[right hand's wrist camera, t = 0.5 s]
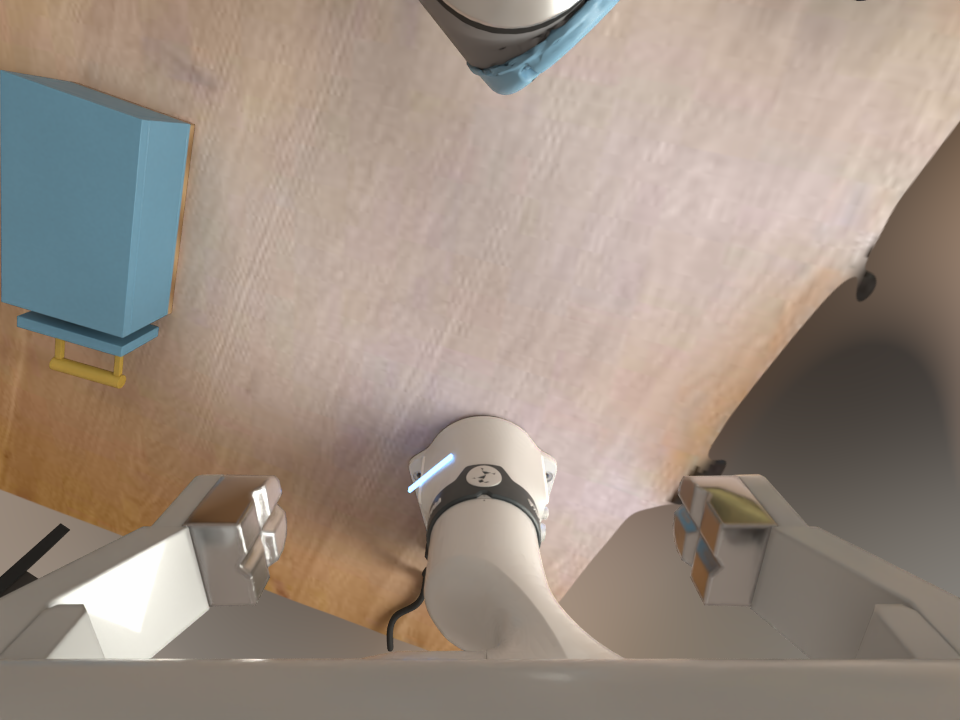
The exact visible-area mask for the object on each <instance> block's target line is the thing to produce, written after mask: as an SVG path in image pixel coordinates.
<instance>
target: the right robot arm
mask: <svg viewBox="0 0 960 720" xmlns="http://www.w3.org/2000/svg"><path fill="white" fill-rule="evenodd" d="M409 472H410V475H411V479H412V482H413V485H411V486H410V487H409V489H408V492H412V491H413V490H414V489H415V492H416V496H417V499H418V503H419V506H420V510H421V513H422V517H423V520H424V523H425V527H426V531H427V534H426V537H427V544H426V551H425V558H426V559H427V567H426V568H425V569H424V570H423V573H422V575H423V584H422V589H421V593H420V595H419V597H418V599H417V600H416V601H415V602H414V603H412V604H411V605H409V606H407V607H404V608H402V609H400V610H399V611H397V612H396V613H395V614H393V616H392V617H391V619H390V621H389V624H388V628H387V649H388V651H392V650H393V628H394V624H395V622H396V620H397V619H398V618H399V617H401V616H402V615H404V614H407V613H409V612H411V611H413V610H415V609H416V608H418V607H419V606H420V605H421V604H422V602H423V601H424V599H425V604H426V608H427V611H428V613H429V615H430V617H431V619H432V620H433V622H434V623H435V625H436V626H437V628H438V629H439V631H440V632H441V633H442V634H443V636H444V637H445V638H446V639H447V640H448V641H450V642H451V643H452V644H454V645H455V646H457V647H458V648H460V649H462V650H464V651H395V652H390V653H385V654H380V655H375V656H370V657H365V658H362V659H150V658H152V657H153V656H154V655H155V654H156V653H157V652H159V651H160V650H161V649H162V648H163V647H165V646H166V645H167V644H168V643H169V642H171V641H172V640H173V639H174V638H175V637H177V636H178V635H179V634H180V633H181V632H183V631H184V630H185V629H186V628H187V627H188V626H190V625H191V624H192V623H193V622H194V621H196V620H197V619H198V618H199V617H200V616H202V615H203V614H204V613H205V612H206V611H208V610H209V606H242V605H256V604H257V602H258V600H259V598H260V596H261V594H262V592H263V590H264V588H265V586H266V584H267V582H268V580H269V578H270V576H269V571H268V567H269V566H270V565H272V564H273V563H275V562H276V561H278V560H279V558H280V555H281V553H282V551H283V549H284V545H285V540H286V536H287V519H286V513H285V511H284V510H283V509H282V508H281V507H280V506H279V505H278V504H277V502H278V500H279V498H280V497H281V495H282V490H281V486H280V481H279V479H278V478H277V477H276V476H266V475H200V476H196V477H195V478H194V479H193V480H192V481H191V482H190V483H189V485H188V486H187V487H186V488H185V489H184V490H183V491H182V492H181V494H180V495H179V496H178V497H177V498H176V499H175V500H174V501H173V503H172V504H171V505H170V506H169V507H168V508H167V509H166V510H165V512H164V513H163V514H162V515H161V516H160V517H159V518H158V519H157V521H156V522H155V523H154V524H153V525H152V526H151V527H141V528H139V529H137V530H135V531H133V532H131V533H129V534H127V535H125V536H123V537H121V538H119V539H117V540H115V541H113V542H111V543H109V544H107V545H105V546H103V547H101V548H99V549H97V550H95V551H93V552H91V553H89V554H87V555H85V556H83V557H81V558H79V559H77V560H75V561H73V562H71V563H69V564H67V565H65V566H63V567H61V568H59V569H57V570H55V571H53V572H51V573H49V574H47V575H45V576H43V577H41V578H39V579H37V580H35V581H33V582H31V583H29V584H27V585H25V586H23V587H21V588H19V589H17V590H15V591H13V592H11V593H9V594H7V595H5V596H3V597H1V598H0V720H960V598H959V597H957V596H955V595H953V594H951V593H949V592H947V591H945V590H943V589H941V588H939V587H937V586H935V585H933V584H931V583H929V582H927V581H925V580H923V579H921V578H919V577H917V576H915V575H913V574H911V573H909V572H907V571H905V570H903V569H901V568H899V567H897V566H895V565H893V564H891V563H889V562H887V561H885V560H883V559H881V558H879V557H877V556H875V555H873V554H871V553H869V552H867V551H865V550H863V549H861V548H859V547H857V546H855V545H853V544H851V543H849V542H847V541H845V540H843V539H841V538H839V537H837V536H835V535H833V534H831V533H829V532H827V531H825V530H823V529H821V528H819V527H809V526H808V525H807V524H806V523H805V522H804V521H803V519H802V518H801V517H800V516H799V515H798V514H797V513H796V512H795V510H794V509H793V508H792V507H791V506H790V505H789V504H788V503H787V501H786V500H785V499H784V498H783V497H782V496H781V495H780V494H779V493H778V491H777V490H776V489H775V488H774V487H773V486H772V485H771V484H770V482H769V481H768V480H767V479H766V478H765V477H763V476H761V475H759V474H750V475H733V476H683V478H682V480H681V482H680V485H679V490H678V495H679V497H680V498H681V500H682V502H683V504H682V505H681V506H680V507H679V508H678V509H677V510H676V511H675V513H674V521H673V534H674V542H675V545H676V549H677V551H678V553H679V556H680V558H681V560H682V561H684V562H685V563H687V564H688V565H690V566H691V567H692V571H691V576H690V578H691V580H692V582H693V584H694V586H695V588H696V590H697V592H698V594H699V596H700V598H701V600H702V602H703V604H704V605H717V606H751V610H753V611H754V612H755V613H756V614H757V615H759V616H760V617H761V618H762V619H763V620H765V621H766V622H767V623H768V624H769V625H771V626H772V627H773V628H774V629H775V630H776V631H778V632H779V633H780V634H781V635H782V636H784V637H785V638H786V639H787V640H788V641H790V642H791V643H792V644H793V645H794V646H796V647H797V648H798V649H799V650H800V651H801V652H803V653H804V654H805V655H806V656H807V657H809V658H810V659H626V658H624V657H622V656H620V655H618V654H616V653H615V652H613V651H611V650H610V649H608V648H606V647H605V646H603V645H602V644H600V643H599V642H598V641H596V640H595V639H594V638H592V637H591V636H590V635H589V634H587V633H586V632H585V631H584V630H583V629H582V628H581V627H580V626H578V625H577V624H576V623H575V622H574V621H573V620H572V619H571V617H570V616H569V615H568V614H567V613H566V612H565V611H564V610H563V608H562V607H561V606H560V605H559V603H558V602H557V600H556V599H555V597H554V596H553V594H552V592H551V590H550V588H549V586H548V583H547V580H546V576H545V573H544V569H543V565H542V561H541V556H540V551H539V549H540V544H541V542H543V541H544V539H545V534H546V526H545V524H544V523H541V521H542V519H547V518H548V508H546V505H547V504H548V502H549V495H550V492H551V488H552V485H553V482H554V479H555V475H556V472H557V462H556V460H555V459H554V458H553V457H551V456H550V455H548V454H547V453H545V452H543V451H541V450H540V449H539V448H538V447H537V446H536V445H535V443H534V442H533V440H532V439H531V438H530V436H529V435H528V434H527V433H526V432H525V431H524V430H523V429H521V428H520V427H519V426H517V425H515V424H514V423H512V422H509V421H507V420H504V419H501V418H497V417H492V416H475V417H469V418H465V419H462V420H459V421H457V422H455V423H453V424H451V425H449V426H448V427H446V428H445V429H444V430H443V431H441V432H440V433H439V434H438V435H437V437H436V438H435V439H434V441H433V442H432V443H431V445H430V446H429V447H428V448H427V449H426V450H424V451H422V452H421V453H419V454H417V455H416V456H414V457H413V458H412V459H411V460H410V462H409ZM418 473H421V475H419V474H418ZM546 473H548V475H546Z"/></svg>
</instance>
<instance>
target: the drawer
mask: <svg viewBox="0 0 960 720" xmlns="http://www.w3.org/2000/svg"><path fill="white" fill-rule="evenodd" d="M17 327H20V328H24V329H27V330H30V331H34V332H37V333H41V334H44V335H47V336H51V337H54V338H55V357H54V358H52V360H51V361H50V364H49V367H50V369H52V370H56V371H59V372H63V373H66V374H70V375H73V376H77V377H80V378H84V379H87V380H91V381H94V382H98V383H101V384H105V385H108V386H111V387H115V388H122V387H123V385H124V384H125V381H126V376H124V375H122V368H123V357H124V355H126V354H127V353H129V352H131V351H133V350H134V349H136V348H138V347H140V346H141V345H143V344H145V343H147V342H148V341H150V340H152V339H154V338H155V337H157V336H158V330H159V327H157V326H154V325H151V324H148V325H146V326H145V327H143V328H141V329H139V330H137V331H135V332H133V333H131V334H129V335H127V336H125V337H124V338H121V337H118V336H115V335H111V334H108V333H105V332H101V331H98V330H95V329H91V328H88V327H84V326H81V325H78V324H74V323H71V322H68V321H64V320H61V319H58V318H54V317H51V316H48V315H44V314H41V313H38V312H34V311H30V312H27V313H24V314H22V315H19V316H17ZM65 341H68V342H71V343H75V344H78V345H82V346H85V347H88V348H92V349H95V350H99V351H102V352H105V353H109V354H112V355H115V362H114V372H111V371H107V370H104V369H100V368H97V367H93V366H90V365H86V364H83V363H80V362H76V361H73V360H69V359H66V358H64V349H65Z"/></svg>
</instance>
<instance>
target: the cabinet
mask: <svg viewBox="0 0 960 720" xmlns="http://www.w3.org/2000/svg"><path fill="white" fill-rule="evenodd" d="M194 127H195V124H192V123H189V122H186V121H184V120H181V119H178V118H175V117H172V116H169V115H167V114H164V113H161V112H158V111H155V110H152V109H150V108H147V107H144V106H141V105H138V104H136V103H133V102H130V101H127V100H124V99H121V98H119V97H116V96H113V95H110V94H107V93H104V92H102V91H99V90H96V89H93V88H90V87H87V86H85V85H82V84H79V83H76V82H69V81H63V80H57V79H51V78H45V77H39V76H33V75H28V74H22V73H16V72H10V71H4V70H0V128H1V301H2V302H4V303H7V304H11V305H14V306H17V307H21V308H24V309H27V310H31V311H34V312H38V313H41V314H44V315H48V316H51V317H54V318H58V319H61V320H64V321H68V322H71V323H74V324H78V325H81V326H84V327H88V328H91V329H95V330H98V331H101V332H105V333H108V334H111V335H115V336H118V337H121V338H124V337H125V336H127V335H129V334H131V333H133V332H135V331H137V330H139V329H141V328H143V327H145V326H146V325H148V324H150V323H152V322H154V321H156V320H158V319H160V318H162V317H164V316H166V315H168V314H170V313H171V312H172V304H173V296H174V288H175V280H176V272H177V264H178V256H179V248H180V240H181V232H182V223H183V215H184V207H185V199H186V191H187V183H188V175H189V167H190V159H191V151H192V143H193V135H194Z"/></svg>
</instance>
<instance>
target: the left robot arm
mask: <svg viewBox="0 0 960 720" xmlns="http://www.w3.org/2000/svg"><path fill="white" fill-rule="evenodd" d="M419 1H420V2H421V4H422V5H423V6H424V7H425V9H426V10H427V11H428V13H429V14H430V15H431V16H432V18H433V19H434V20H435V21H436V23H437V24H438V25H439V26H440V28H441V29H442V30H443V32H444V33H445V34H446V35H447V37H448V38H449V39H450V40H451V42H452V43H453V44H454V46H455V47H456V48H457V49H458V51H459V52H460V53H461V54H462V56H463V57H464V58H465V59H466V61H467V65H468V67H469V68H470V70H471V71H472V72H473V73H474V74H476V75H479V76H480V77H481V78H482V79H483V80H484V81H485V83H486V84H487V85H488V86H489V87H490V88H491V89H492V90H493V91H495V92H496V93H498V94H502V95H509V94H513V93H515V92H517V91H519V90H521V89H522V88H524V87H525V86H527V85H528V84H529V83H531V82H532V81H533V80H534V79H535V78H536V77H537V76H538V75H539V74H540V73H542V72H544V71H545V70H547V69H548V68H550V67H551V66H552V65H553V64H554V63H556V62H557V61H558V60H559V59H560V58H561V57H562V56H564V55H565V54H566V53H567V52H568V51H569V50H570V49H571V48H572V47H574V46H575V45H576V44H577V43H578V42H579V41H580V40H581V39H582V38H583V37H584V36H585V35H586V34H587V33H588V32H589V31H590V30H591V29H592V28H593V27H594V26H595V25H596V24H597V23H598V22H599V21H600V20H601V19H602V18H603V17H604V16H605V15H606V14H607V13H608V12H609V11H610V10H611V9H612V8H613V7H614V6H615V5H616V3H617V2H618V1H619V0H419ZM68 531H70V529H68V528H67V527H65V526H64V525H62V524H59V525H58V526H57V527H56V528H55V529H54V530H53V531H52V532H50V533H49V534H48V535H47V536H46V537H45V538H44V539H42V540H41V541H40V542H39V543H38V544H37V545H36V546H35V547H34V548H32V549H31V550H30V551H29V552H28V553H27V554H26V555H24V556H23V557H22V558H21V559H20V560H19V561H18V562H17V563H15V564H14V565H13V566H12V567H11V568H10V569H9V570H8V571H6V572H5V573H4V574H3V575H2V576H1V577H0V598H1V597H3V596H5V595H7V594H9V593H11V592H13V591H15V590H17V589H19V588H21V587H23V586H25V585H27V584H29V583H31V582H33V581H35V580H37V579H38V578H36V577H35V576H33V575H32V574H30V573H29V572H27V570H28V569H29V568H30V567H31V566H32V565H33V564H35V563H36V562H37V561H38V560H39V559H40V558H41V557H42V556H43V555H44V554H45V553H46V552H47V551H49V550H50V549H51V548H52V547H53V546H54V545H55V544H56V543H57V542H58V541H59V540H60V539H61V538H62V537H63V536H64V535H65V534H66V533H67V532H68Z"/></svg>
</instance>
